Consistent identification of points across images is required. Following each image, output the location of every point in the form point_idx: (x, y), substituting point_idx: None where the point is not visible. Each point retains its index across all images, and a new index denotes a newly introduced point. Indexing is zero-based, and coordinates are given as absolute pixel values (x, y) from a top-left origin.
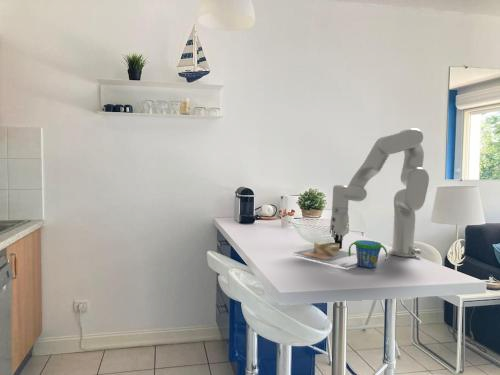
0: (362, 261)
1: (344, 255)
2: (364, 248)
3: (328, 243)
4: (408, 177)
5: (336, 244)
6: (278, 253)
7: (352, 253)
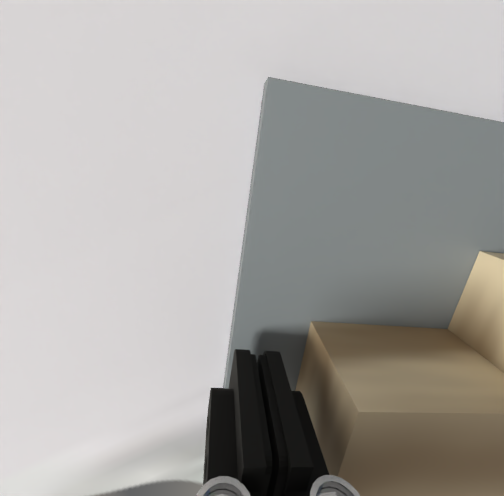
0: None
1: (473, 186)
2: None
3: (470, 491)
4: None
5: (449, 408)
6: None
7: (281, 157)
